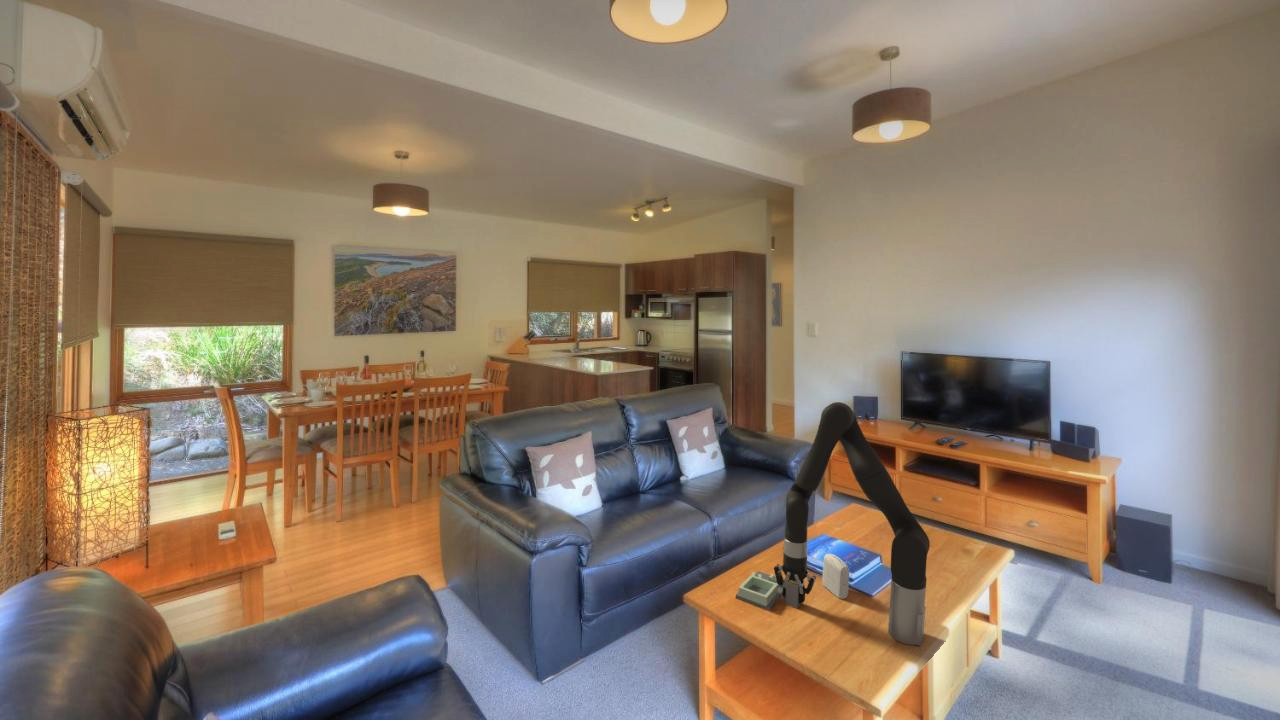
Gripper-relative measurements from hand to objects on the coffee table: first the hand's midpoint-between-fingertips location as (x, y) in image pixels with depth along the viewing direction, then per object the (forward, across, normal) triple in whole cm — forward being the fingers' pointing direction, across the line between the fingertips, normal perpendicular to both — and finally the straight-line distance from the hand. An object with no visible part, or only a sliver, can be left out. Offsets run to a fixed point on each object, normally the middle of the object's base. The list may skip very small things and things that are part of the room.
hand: (793, 599), depth 171 cm
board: (+1, +11, -1) cm, 11 cm away
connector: (+1, 0, 0) cm, 1 cm away
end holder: (0, +11, +4) cm, 12 cm away
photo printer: (+2, -9, -16) cm, 18 cm away
